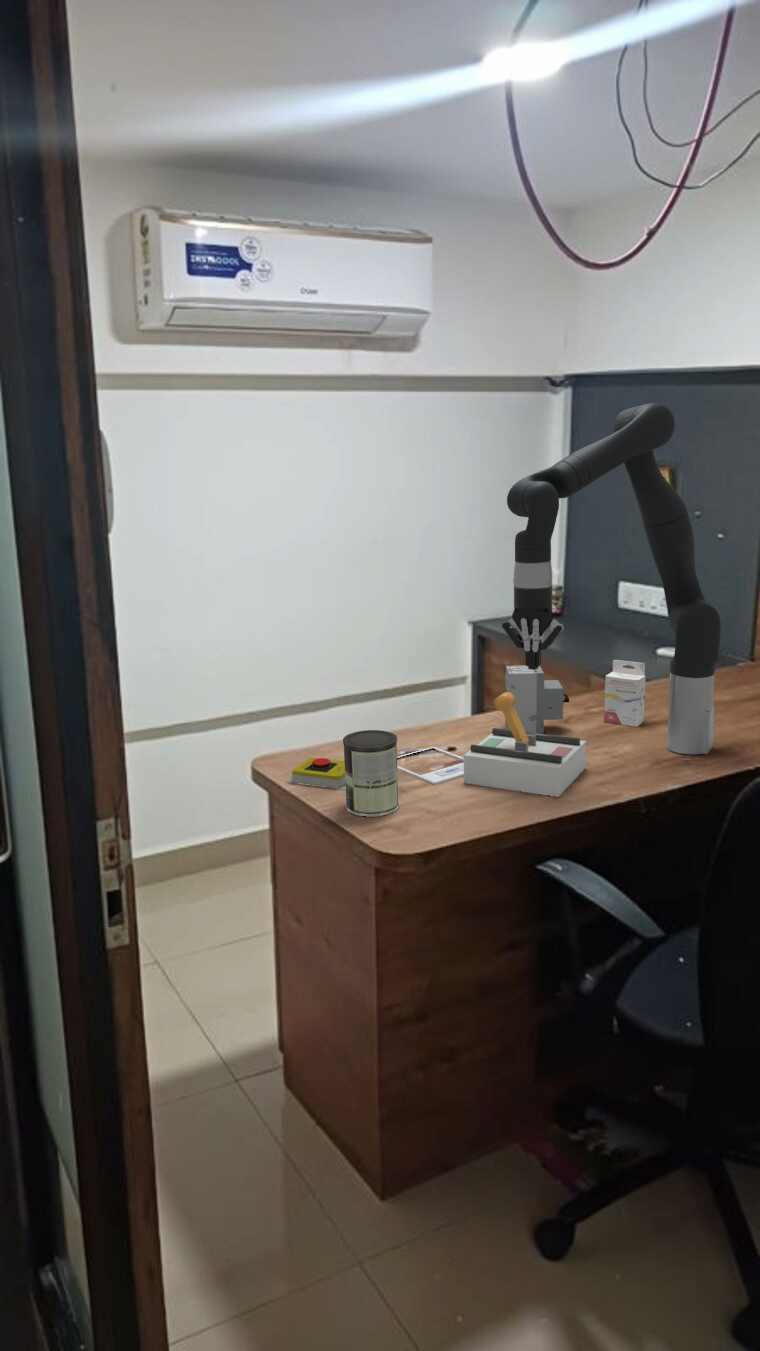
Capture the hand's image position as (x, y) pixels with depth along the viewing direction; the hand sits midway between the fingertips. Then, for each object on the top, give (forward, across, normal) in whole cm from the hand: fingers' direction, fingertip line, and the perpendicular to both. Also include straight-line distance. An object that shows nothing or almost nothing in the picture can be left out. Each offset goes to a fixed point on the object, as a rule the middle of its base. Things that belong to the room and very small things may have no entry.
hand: (533, 668), depth 201 cm
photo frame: (+23, +22, +2) cm, 32 cm away
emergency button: (+23, +39, +18) cm, 49 cm away
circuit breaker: (+23, +9, -29) cm, 39 cm away
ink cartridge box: (+23, -8, -43) cm, 50 cm away
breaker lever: (+17, +2, +1) cm, 17 cm away
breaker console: (+23, +2, +1) cm, 23 cm away
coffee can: (+23, +23, +28) cm, 43 cm away
